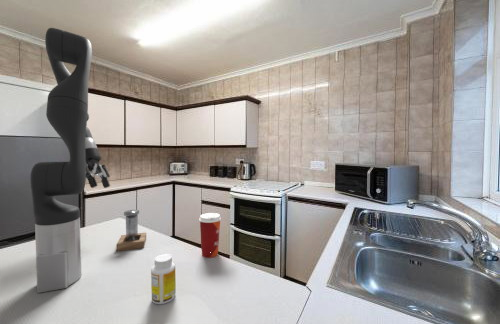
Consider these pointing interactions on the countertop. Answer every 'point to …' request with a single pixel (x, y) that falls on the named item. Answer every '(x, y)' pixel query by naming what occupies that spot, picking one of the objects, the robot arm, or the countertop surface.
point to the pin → (131, 224)
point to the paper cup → (210, 234)
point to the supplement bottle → (163, 279)
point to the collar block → (131, 242)
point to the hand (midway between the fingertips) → (101, 187)
